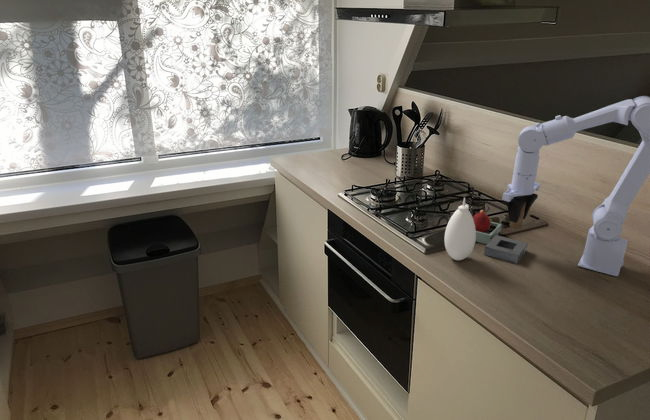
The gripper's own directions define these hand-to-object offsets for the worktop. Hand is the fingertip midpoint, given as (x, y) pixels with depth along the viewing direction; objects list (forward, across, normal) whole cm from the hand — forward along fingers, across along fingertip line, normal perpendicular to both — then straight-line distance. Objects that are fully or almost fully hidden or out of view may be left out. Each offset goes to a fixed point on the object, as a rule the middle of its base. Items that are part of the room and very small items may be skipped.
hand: (517, 219), depth 140 cm
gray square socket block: (+10, +3, 0) cm, 10 cm away
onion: (+10, -1, -12) cm, 15 cm away
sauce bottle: (+10, +16, -6) cm, 20 cm away
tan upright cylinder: (+2, 0, 0) cm, 2 cm away
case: (+10, -1, -12) cm, 15 cm away
